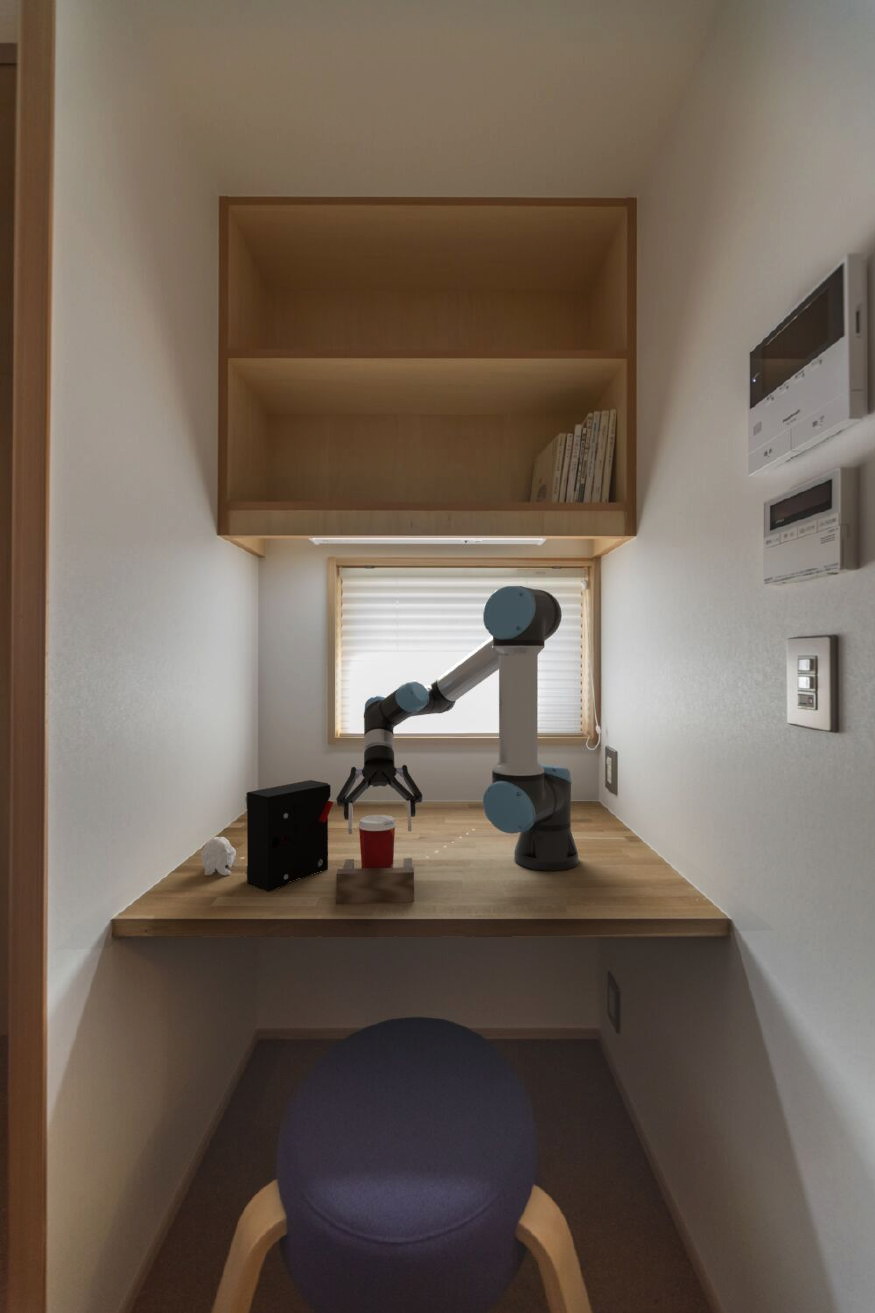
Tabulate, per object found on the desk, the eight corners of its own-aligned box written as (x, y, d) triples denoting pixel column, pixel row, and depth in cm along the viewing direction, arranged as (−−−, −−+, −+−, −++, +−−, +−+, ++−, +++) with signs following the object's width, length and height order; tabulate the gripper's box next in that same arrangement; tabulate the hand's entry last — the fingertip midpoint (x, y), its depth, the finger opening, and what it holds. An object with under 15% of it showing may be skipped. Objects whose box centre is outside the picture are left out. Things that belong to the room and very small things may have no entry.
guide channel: (412, 866, 154) (412, 841, 154) (414, 902, 132) (414, 872, 132) (345, 867, 153) (345, 842, 153) (336, 903, 131) (336, 873, 131)
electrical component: (305, 862, 157) (304, 778, 157) (333, 871, 151) (333, 784, 151) (241, 882, 144) (241, 790, 144) (270, 892, 137) (269, 797, 137)
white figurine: (199, 839, 146) (218, 830, 158) (198, 879, 145) (216, 866, 157) (227, 839, 146) (244, 830, 158) (226, 879, 145) (243, 866, 157)
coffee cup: (404, 889, 139) (404, 818, 139) (375, 900, 133) (375, 826, 133) (378, 879, 145) (378, 812, 145) (349, 889, 139) (349, 819, 139)
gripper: (428, 758, 168) (433, 835, 155) (330, 761, 167) (326, 840, 153) (429, 741, 163) (434, 820, 149) (327, 745, 161) (323, 825, 147)
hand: (380, 830), depth 151 cm, fingers open, 13 cm apart
